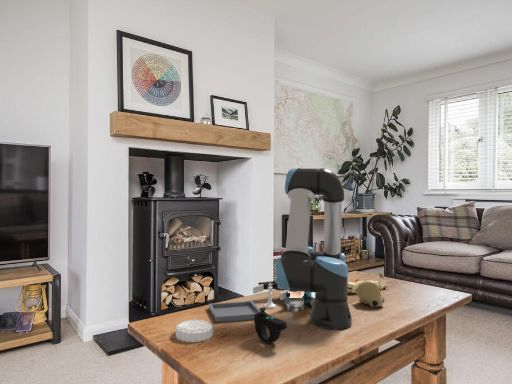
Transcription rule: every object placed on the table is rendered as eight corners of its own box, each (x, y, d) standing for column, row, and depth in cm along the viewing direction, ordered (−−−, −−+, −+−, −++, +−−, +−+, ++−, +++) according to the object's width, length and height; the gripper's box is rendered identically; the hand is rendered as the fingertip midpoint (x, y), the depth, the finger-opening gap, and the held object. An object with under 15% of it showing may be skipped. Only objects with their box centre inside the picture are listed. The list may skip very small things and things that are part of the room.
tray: (263, 318, 137) (263, 313, 137) (216, 322, 132) (216, 317, 132) (251, 305, 152) (251, 300, 152) (208, 308, 147) (208, 303, 147)
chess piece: (277, 308, 150) (278, 283, 150) (266, 309, 148) (267, 284, 148) (273, 304, 154) (273, 280, 154) (262, 305, 153) (262, 281, 153)
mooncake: (205, 344, 113) (205, 333, 113) (169, 340, 116) (169, 329, 116) (217, 330, 125) (217, 320, 125) (184, 327, 127) (184, 316, 127)
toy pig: (363, 315, 154) (379, 303, 148) (348, 289, 160) (363, 277, 154) (377, 310, 160) (393, 298, 154) (362, 286, 166) (377, 273, 160)
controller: (260, 335, 121) (261, 305, 121) (288, 347, 112) (289, 314, 112) (251, 338, 118) (251, 307, 118) (279, 351, 109) (279, 317, 109)
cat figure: (374, 288, 190) (337, 289, 178) (375, 271, 190) (339, 271, 178) (390, 293, 181) (352, 295, 169) (391, 275, 181) (353, 276, 169)
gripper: (318, 297, 159) (292, 309, 142) (271, 287, 174) (243, 296, 157) (318, 279, 159) (293, 289, 142) (271, 271, 174) (243, 279, 157)
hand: (266, 293), depth 150 cm, fingers open, 13 cm apart
